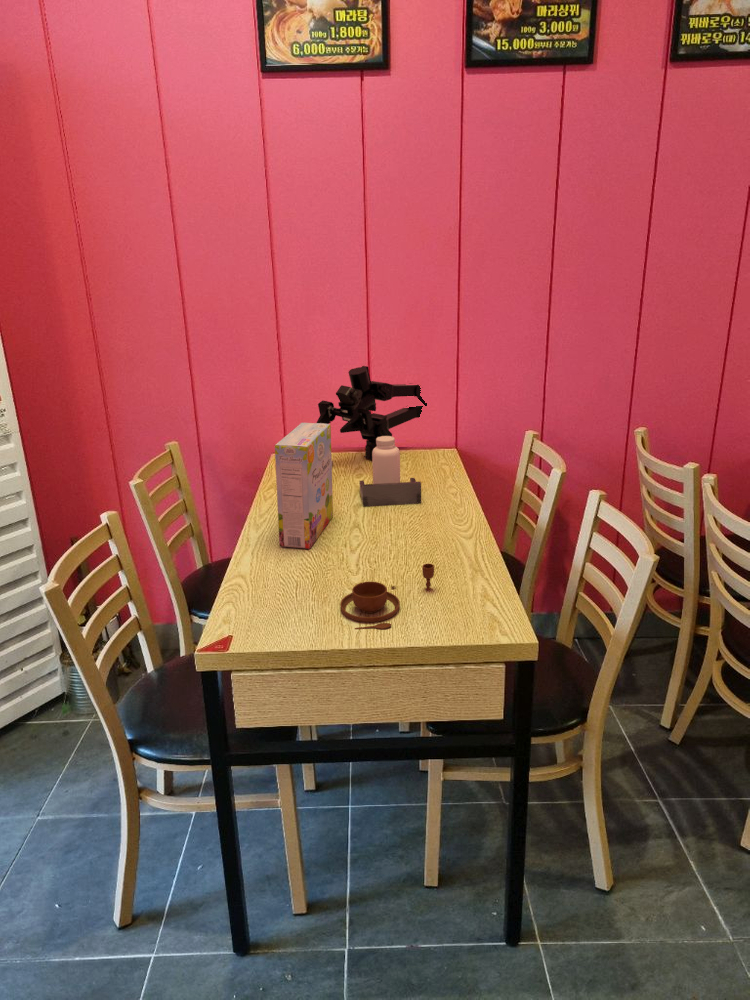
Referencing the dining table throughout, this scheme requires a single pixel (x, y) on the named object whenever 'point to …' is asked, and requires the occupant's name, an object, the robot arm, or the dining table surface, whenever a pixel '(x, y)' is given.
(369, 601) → the place setting
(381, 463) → the pill bottle
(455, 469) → the dining table surface
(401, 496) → the dark wooden frame
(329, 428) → the snack box
